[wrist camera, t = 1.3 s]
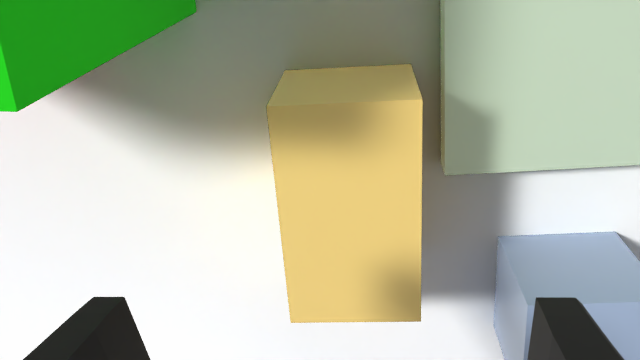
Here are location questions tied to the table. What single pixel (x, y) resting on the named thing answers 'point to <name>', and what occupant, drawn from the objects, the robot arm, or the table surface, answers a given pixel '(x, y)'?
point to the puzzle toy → (71, 40)
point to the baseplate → (539, 85)
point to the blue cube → (567, 286)
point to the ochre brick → (349, 192)
